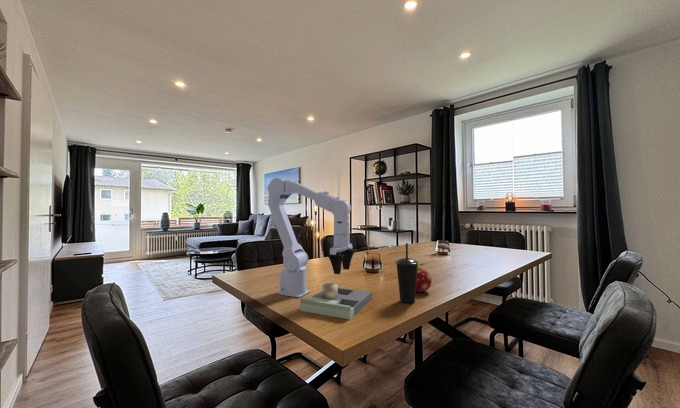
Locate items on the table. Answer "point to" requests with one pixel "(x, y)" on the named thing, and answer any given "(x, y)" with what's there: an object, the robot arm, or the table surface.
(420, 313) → the table surface
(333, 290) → the beige rounded cylinder
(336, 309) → the trap deck
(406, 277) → the drinking cup
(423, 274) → the christmas ornament
